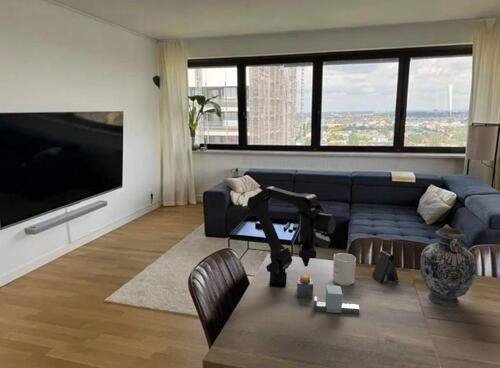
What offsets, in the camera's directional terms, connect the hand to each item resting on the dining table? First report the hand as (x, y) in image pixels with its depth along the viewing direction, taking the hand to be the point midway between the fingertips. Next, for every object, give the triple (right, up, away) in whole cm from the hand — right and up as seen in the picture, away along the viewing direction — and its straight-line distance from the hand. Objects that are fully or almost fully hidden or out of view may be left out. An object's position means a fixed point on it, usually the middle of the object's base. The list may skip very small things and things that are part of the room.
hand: (306, 266), depth 138 cm
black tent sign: (+37, -9, +16) cm, 41 cm away
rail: (+10, -14, -9) cm, 19 cm away
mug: (+17, -10, +15) cm, 25 cm away
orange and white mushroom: (0, -12, +3) cm, 12 cm away
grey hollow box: (0, -12, +3) cm, 12 cm away
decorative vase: (+53, -13, 0) cm, 54 cm away
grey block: (+9, -14, -8) cm, 18 cm away
